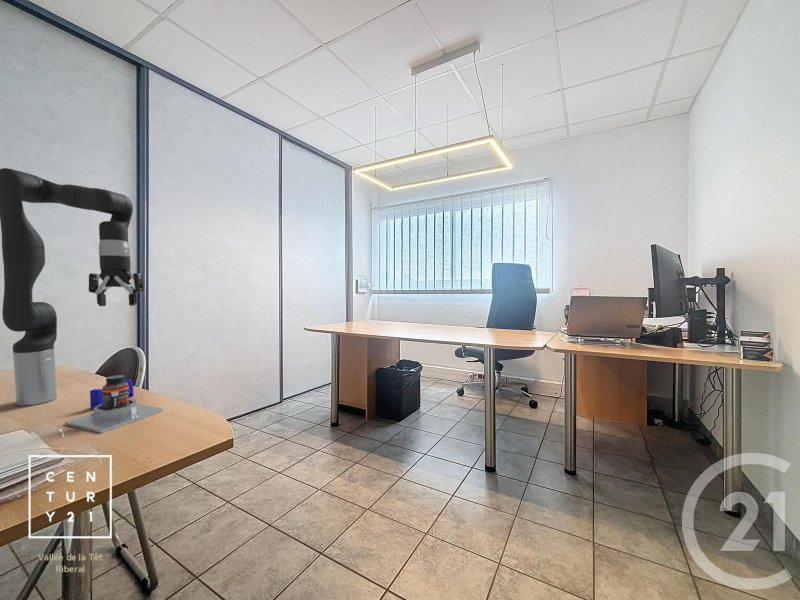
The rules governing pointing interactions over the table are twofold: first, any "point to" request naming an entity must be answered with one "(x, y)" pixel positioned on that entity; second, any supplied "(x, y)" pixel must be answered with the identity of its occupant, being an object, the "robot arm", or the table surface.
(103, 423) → the duct panel
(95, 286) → the robot arm
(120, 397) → the supplement bottle
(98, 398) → the blue notched bracket
